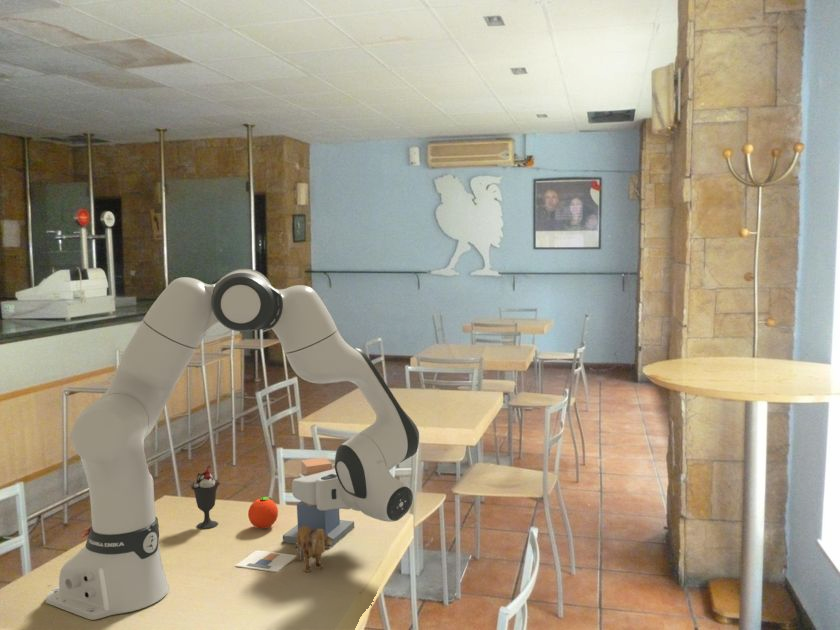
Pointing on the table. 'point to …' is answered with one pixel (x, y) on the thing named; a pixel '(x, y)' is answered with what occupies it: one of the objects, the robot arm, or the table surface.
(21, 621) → the table surface
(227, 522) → the table surface
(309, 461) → the terracotta brick
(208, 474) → the sundae
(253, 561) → the page
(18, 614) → the table surface
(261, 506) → the clementine
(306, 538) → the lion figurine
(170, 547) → the table surface
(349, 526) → the tower base
